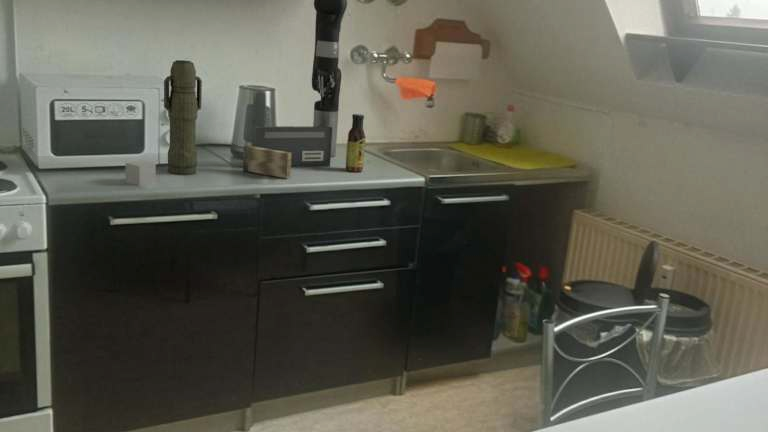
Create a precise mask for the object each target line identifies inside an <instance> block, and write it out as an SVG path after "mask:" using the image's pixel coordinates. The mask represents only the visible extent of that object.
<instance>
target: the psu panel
mask: <svg viewBox="0 0 768 432" xmlns="http://www.w3.org/2000/svg"><path fill="white" fill-rule="evenodd" d="M331 142H332V127H313V126H288V125H287V126H286V125H285V126H281V125H280V126H277V125H275V126H258V125H257V126H253V145H252V146H254V147H260V148H266V149H272V150H278V151H284V152H290V153H292V154H291V168H316V167H317V168H319V167H322V168H323V167H330V166H331V158H332V157H331Z"/></svg>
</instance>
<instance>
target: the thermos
mask: <svg viewBox="0 0 768 432" xmlns="http://www.w3.org/2000/svg"><path fill="white" fill-rule="evenodd" d="M196 71H197V70H196V68H195V63H193V62H192V61H190V60H179V59H178V60H177V59H176V60H175V61H172V65H171V68H170V75H169V76H166V77H165V79H164V81H163V108H165V109H166V110H167V117H168V119H169V147H168V150H167V165H168V169H167V171H168V173H169V174H172V175H175V176H176V175H178V176H190V175H195V174H197V164H198V163H197V162H198V160H197V158H198V152H197V148H196V126H197V125H196V121H197V119H198V111H199V110H201V109H202V94H203V93H202V88H203V86H202V83H203V82H202V79H201V77H200V76H197V72H196Z"/></svg>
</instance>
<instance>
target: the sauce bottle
mask: <svg viewBox="0 0 768 432" xmlns="http://www.w3.org/2000/svg"><path fill="white" fill-rule="evenodd" d="M351 117H352V124H351V126H352V127H351V129H349V130H348V134H347V140H346V141H347V142H346V143H347V144H346V153H345V154H346V155H345V170H346V171H347V172H352V173H359V172H362V171H363V168H364V161H365V149H366V134H365V132H364V119H365V115H364V114H361V113H353V114H352V116H351Z"/></svg>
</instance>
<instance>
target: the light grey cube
mask: <svg viewBox="0 0 768 432" xmlns="http://www.w3.org/2000/svg"><path fill="white" fill-rule="evenodd" d="M156 165H157V164H156V163H154V162H150V161H147V160H141V159H139V160H135V161H128V162H125V165H124V166H125V183H127V184H131V185H134V186H138V187H142V186H147V185H152V184H156V179H157V178H156V169H157V168H156Z"/></svg>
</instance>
